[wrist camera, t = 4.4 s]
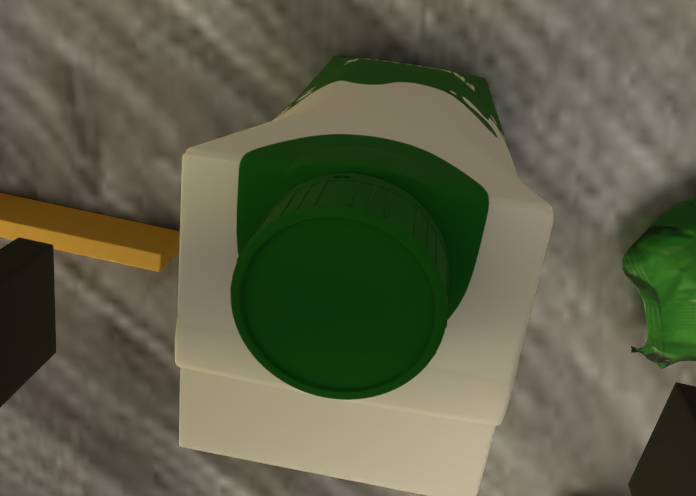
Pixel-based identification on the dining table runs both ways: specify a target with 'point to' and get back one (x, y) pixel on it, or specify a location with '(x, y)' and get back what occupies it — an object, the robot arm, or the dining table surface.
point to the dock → (88, 233)
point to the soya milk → (358, 281)
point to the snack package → (667, 284)
